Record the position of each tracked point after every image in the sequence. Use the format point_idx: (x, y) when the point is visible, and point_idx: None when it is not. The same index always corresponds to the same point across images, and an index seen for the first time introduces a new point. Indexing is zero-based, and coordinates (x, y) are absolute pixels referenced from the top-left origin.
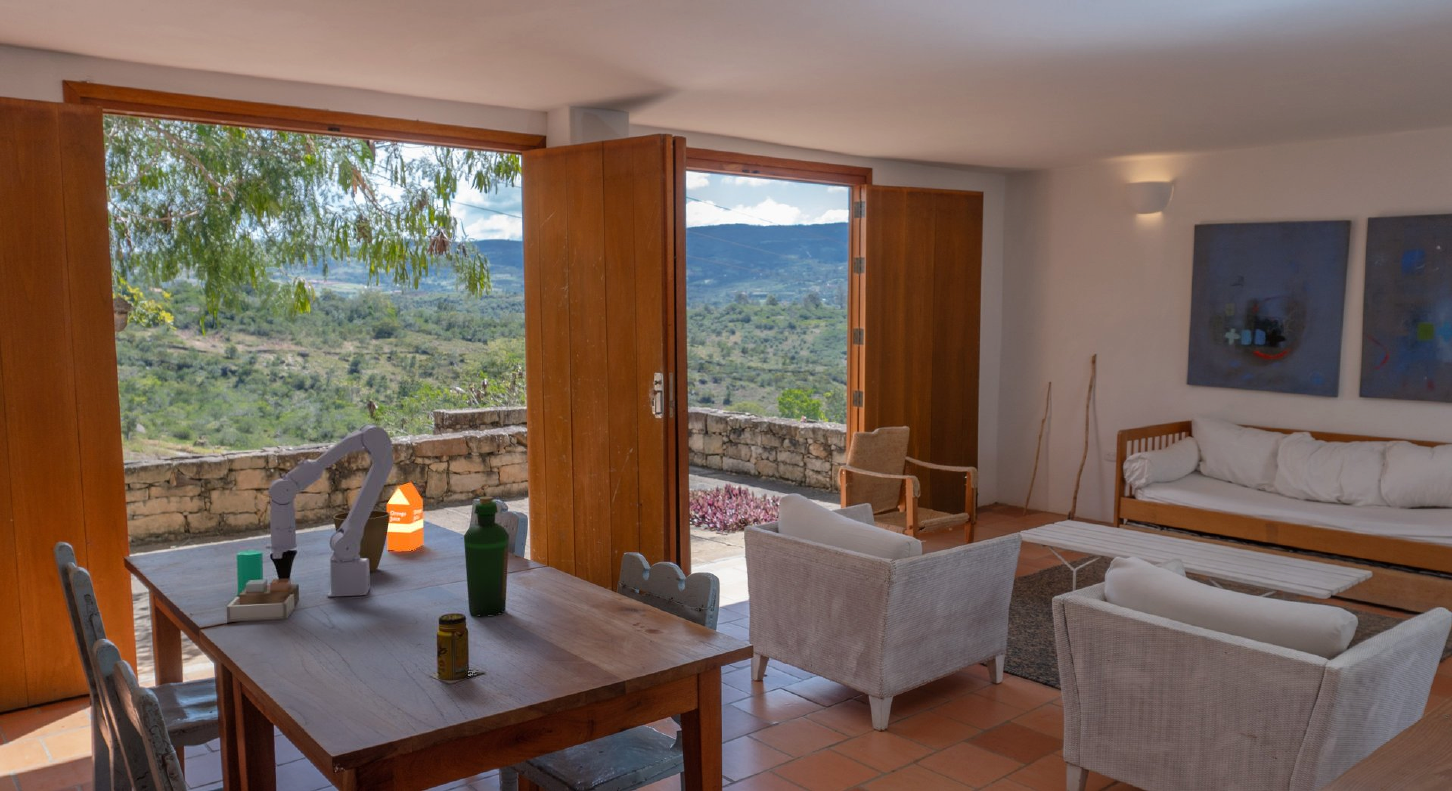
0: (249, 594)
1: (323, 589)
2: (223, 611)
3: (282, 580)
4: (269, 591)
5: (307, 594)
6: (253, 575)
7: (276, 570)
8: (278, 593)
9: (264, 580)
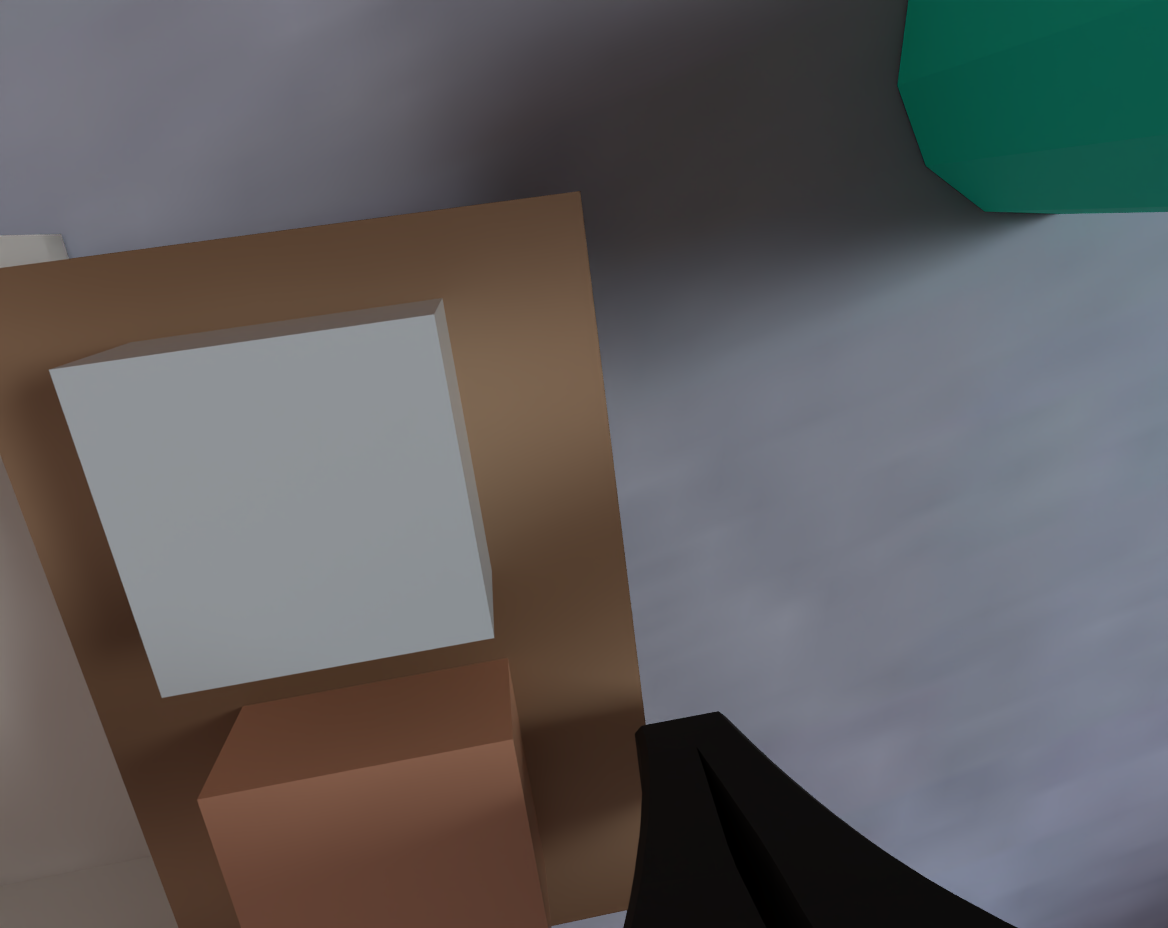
0: (4, 461)
1: (1000, 824)
2: (51, 19)
3: (412, 910)
4: (231, 700)
5: (831, 754)
6: (1137, 105)
7: (639, 856)
8: (154, 849)
9: (412, 622)
